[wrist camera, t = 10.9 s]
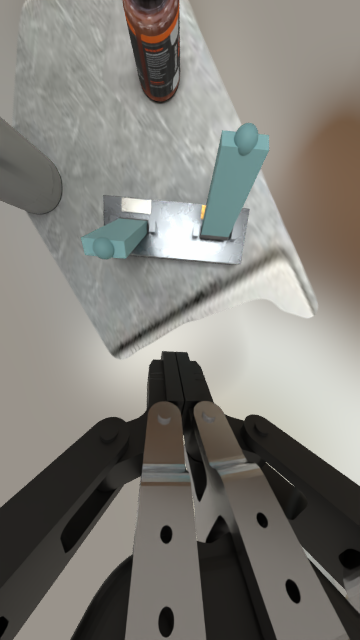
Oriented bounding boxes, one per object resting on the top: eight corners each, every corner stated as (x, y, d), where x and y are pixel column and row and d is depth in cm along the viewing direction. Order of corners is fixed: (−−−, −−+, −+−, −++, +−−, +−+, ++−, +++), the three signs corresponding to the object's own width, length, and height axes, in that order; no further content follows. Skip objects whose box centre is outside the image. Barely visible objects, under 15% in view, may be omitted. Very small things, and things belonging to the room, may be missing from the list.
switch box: (113, 254, 33) (98, 250, 27) (113, 204, 31) (96, 188, 25) (233, 264, 33) (244, 263, 27) (241, 216, 31) (255, 203, 25)
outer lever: (199, 241, 28) (224, 133, 14) (200, 229, 28) (225, 113, 15) (225, 243, 28) (275, 138, 14) (226, 231, 28) (275, 118, 15)
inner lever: (123, 230, 28) (80, 260, 17) (121, 215, 27) (74, 237, 16) (148, 232, 28) (123, 264, 17) (148, 217, 27) (120, 241, 16)
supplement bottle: (187, 86, 27) (192, -40, 16) (154, 114, 28) (137, 12, 17) (165, 40, 26) (153, -131, 15) (131, 70, 27) (96, -71, 16)
